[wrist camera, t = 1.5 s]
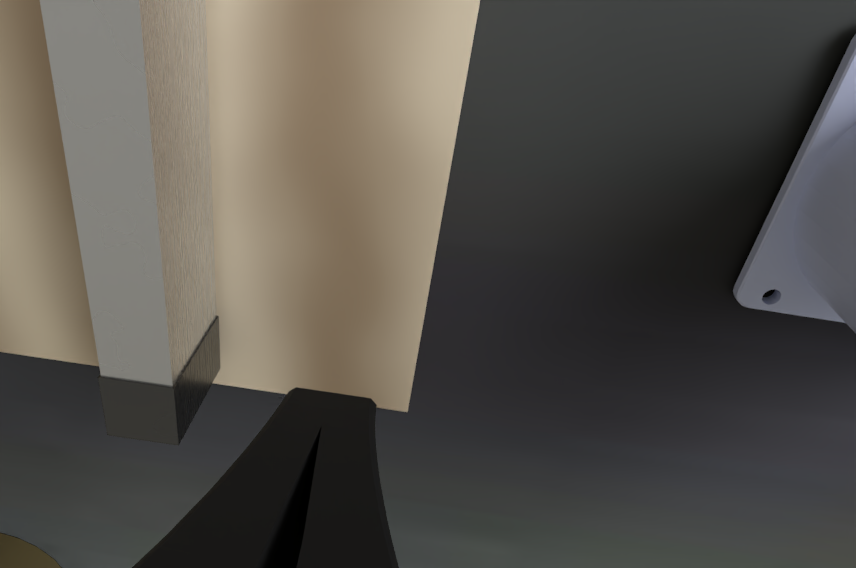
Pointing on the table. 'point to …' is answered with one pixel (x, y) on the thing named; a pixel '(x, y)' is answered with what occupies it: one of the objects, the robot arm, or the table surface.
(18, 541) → the pepper mill
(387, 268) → the cracker board
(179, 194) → the lever
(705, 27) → the table surface
